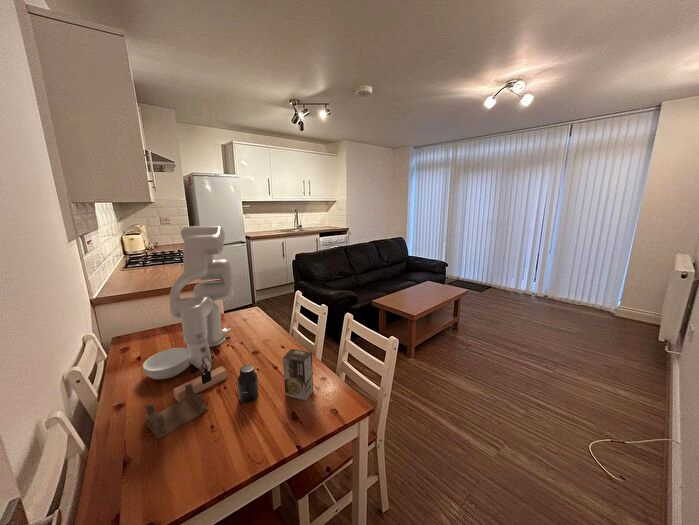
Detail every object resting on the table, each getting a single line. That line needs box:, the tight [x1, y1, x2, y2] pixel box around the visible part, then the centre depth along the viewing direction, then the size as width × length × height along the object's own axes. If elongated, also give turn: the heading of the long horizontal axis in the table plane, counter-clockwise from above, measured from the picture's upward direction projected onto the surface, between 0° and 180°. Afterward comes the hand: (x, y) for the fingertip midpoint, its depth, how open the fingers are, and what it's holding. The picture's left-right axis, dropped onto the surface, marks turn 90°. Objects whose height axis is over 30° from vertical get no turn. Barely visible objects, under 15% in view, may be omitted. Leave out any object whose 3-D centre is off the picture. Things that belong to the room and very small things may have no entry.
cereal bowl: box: [142, 347, 189, 380], centre depth 114 cm, size 17×17×7 cm
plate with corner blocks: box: [144, 384, 209, 440], centre depth 91 cm, size 15×11×6 cm
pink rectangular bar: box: [173, 365, 228, 403], centre depth 106 cm, size 18×4×4 cm, turn 142°
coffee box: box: [282, 348, 314, 401], centre depth 101 cm, size 9×6×16 cm
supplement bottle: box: [237, 364, 259, 404], centre depth 100 cm, size 7×7×12 cm
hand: (200, 377), depth 104 cm, fingers open, 9 cm apart
